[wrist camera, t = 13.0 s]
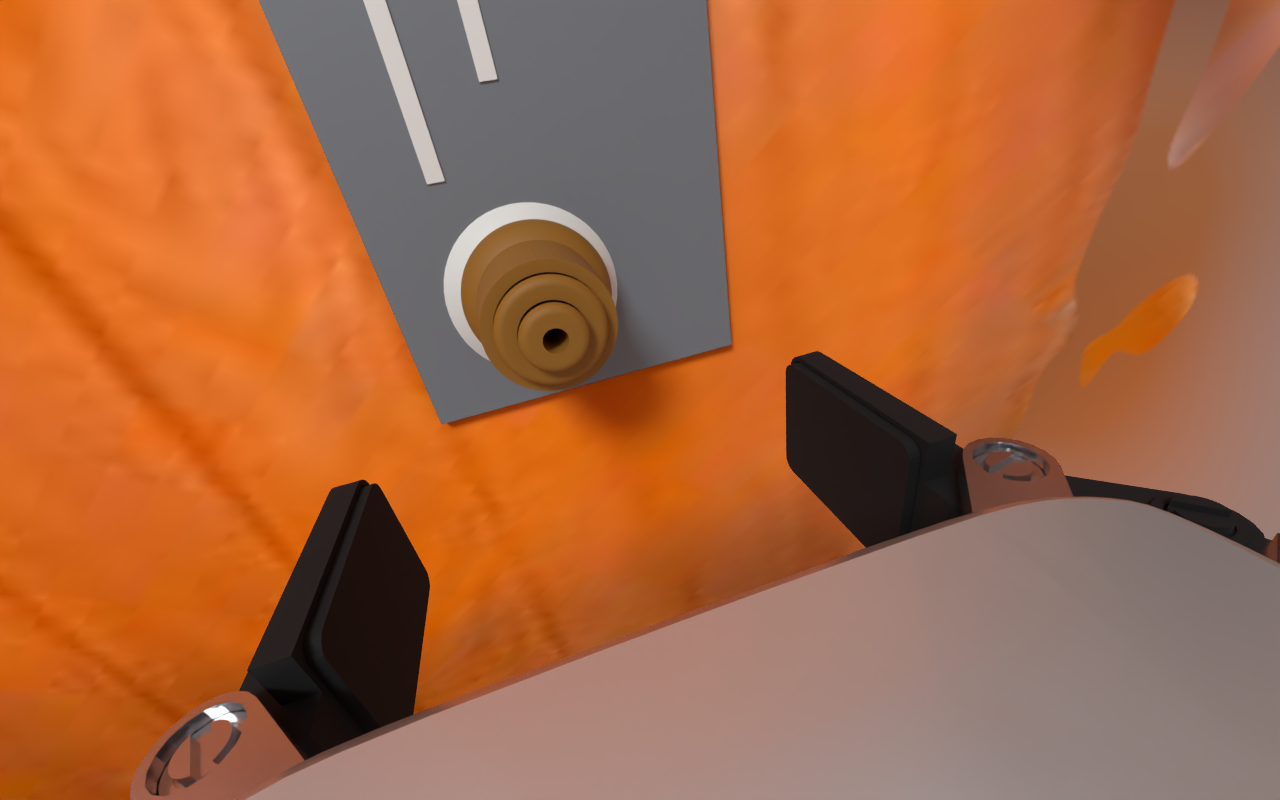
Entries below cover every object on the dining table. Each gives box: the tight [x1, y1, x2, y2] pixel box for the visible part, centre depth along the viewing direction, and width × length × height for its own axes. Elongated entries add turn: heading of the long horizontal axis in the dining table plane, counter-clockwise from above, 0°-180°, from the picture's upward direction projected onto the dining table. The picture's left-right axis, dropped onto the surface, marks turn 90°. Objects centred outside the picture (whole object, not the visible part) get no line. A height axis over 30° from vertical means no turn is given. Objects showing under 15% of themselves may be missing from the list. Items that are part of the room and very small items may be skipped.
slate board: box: [259, 0, 731, 424], centre depth 23 cm, size 18×24×1 cm
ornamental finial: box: [461, 219, 618, 391], centre depth 22 cm, size 8×8×8 cm
